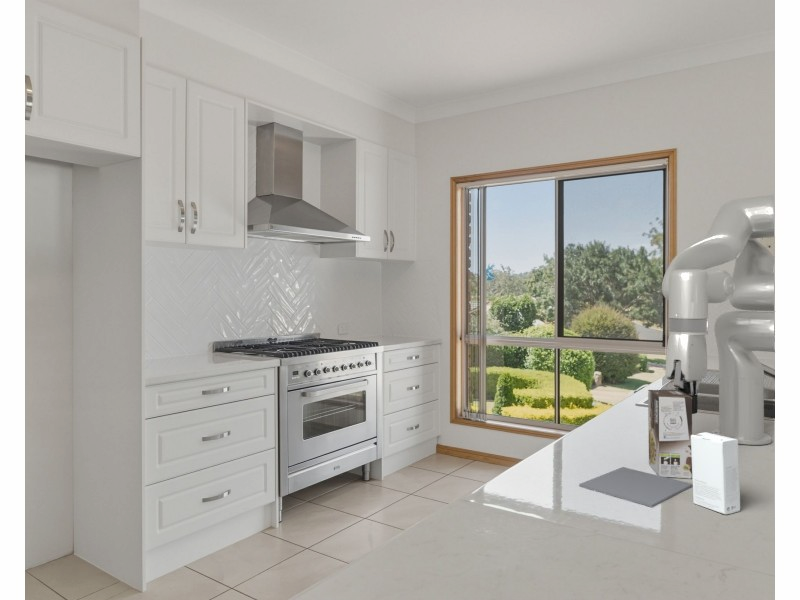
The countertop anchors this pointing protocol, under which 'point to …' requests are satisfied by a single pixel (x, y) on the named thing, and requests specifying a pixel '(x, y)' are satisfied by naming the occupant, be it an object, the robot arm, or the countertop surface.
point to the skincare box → (715, 472)
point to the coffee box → (670, 433)
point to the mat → (636, 486)
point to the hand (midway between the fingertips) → (688, 412)
